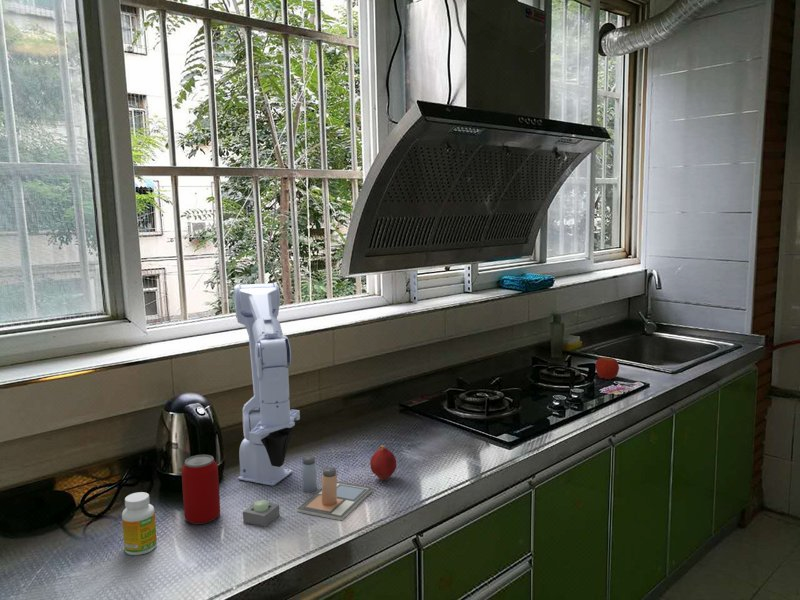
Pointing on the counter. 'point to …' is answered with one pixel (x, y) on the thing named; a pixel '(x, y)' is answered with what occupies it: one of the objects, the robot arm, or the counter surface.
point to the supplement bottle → (139, 524)
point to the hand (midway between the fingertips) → (277, 465)
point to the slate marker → (309, 474)
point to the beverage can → (200, 489)
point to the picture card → (345, 503)
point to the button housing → (261, 515)
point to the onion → (383, 463)
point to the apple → (607, 367)
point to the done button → (261, 506)
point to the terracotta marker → (329, 486)
